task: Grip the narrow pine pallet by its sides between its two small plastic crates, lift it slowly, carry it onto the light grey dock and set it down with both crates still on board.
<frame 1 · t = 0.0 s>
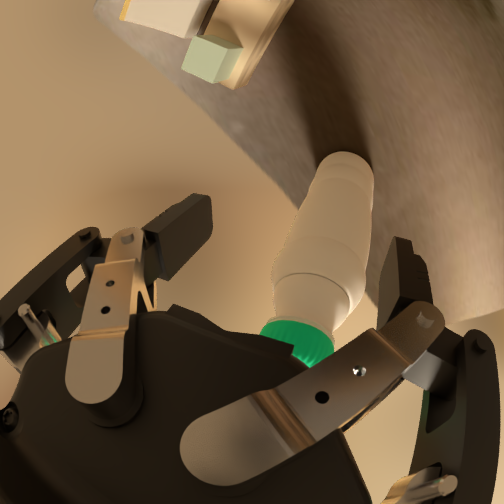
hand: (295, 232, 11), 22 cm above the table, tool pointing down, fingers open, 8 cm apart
pallet: (254, 20, 22), on the table, touching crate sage
water bottle: (346, 175, 31), on the table
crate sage: (220, 56, 23), point 4 cm above the table, touching pallet
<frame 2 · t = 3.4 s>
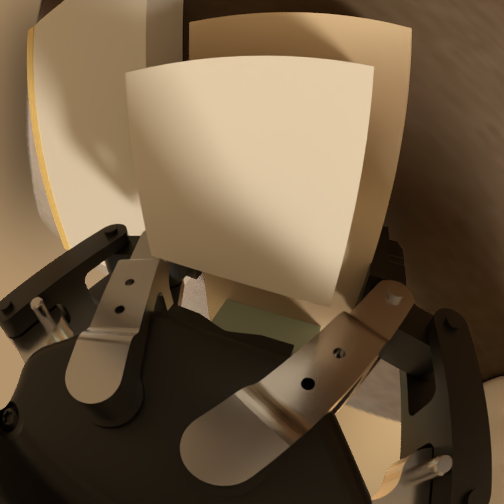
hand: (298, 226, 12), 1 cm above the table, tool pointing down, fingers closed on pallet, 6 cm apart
pallet: (303, 216, 12), on the table, touching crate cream, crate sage, gripper
water bottle: (491, 392, 13), on the table
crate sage: (269, 341, 12), point 4 cm above the table, touching pallet
dock: (106, 125, 14), on the table
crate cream: (286, 140, 7), point 4 cm above the table, touching pallet
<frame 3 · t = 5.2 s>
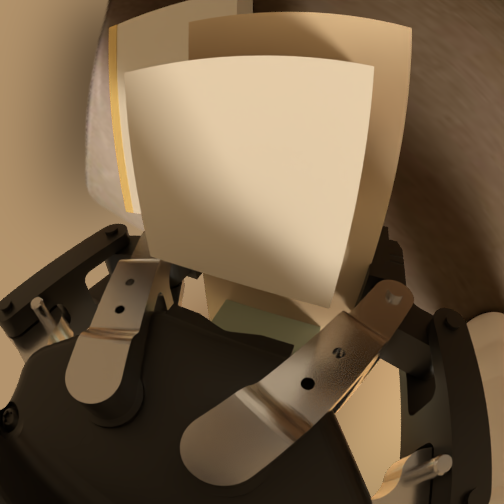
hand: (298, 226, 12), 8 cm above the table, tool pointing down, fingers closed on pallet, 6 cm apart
pallet: (303, 217, 12), point 8 cm above the table, touching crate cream, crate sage, gripper
water bottle: (481, 332, 19), on the table
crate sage: (269, 342, 12), point 11 cm above the table, touching pallet
dock: (182, 111, 20), on the table
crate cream: (285, 140, 7), point 12 cm above the table, touching pallet
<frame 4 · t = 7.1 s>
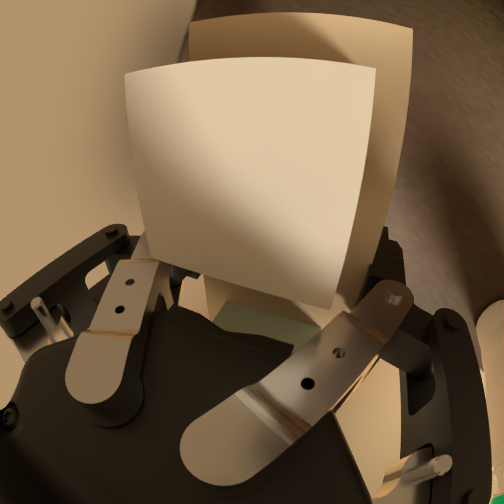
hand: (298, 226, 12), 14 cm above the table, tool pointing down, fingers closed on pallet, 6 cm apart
pallet: (303, 217, 12), point 14 cm above the table, touching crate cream, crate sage, gripper
water bottle: (497, 316, 23), on the table
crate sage: (269, 342, 12), point 18 cm above the table, touching pallet
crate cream: (286, 142, 7), point 18 cm above the table, touching pallet
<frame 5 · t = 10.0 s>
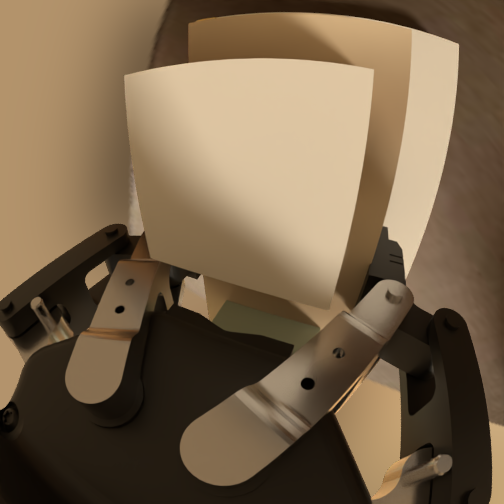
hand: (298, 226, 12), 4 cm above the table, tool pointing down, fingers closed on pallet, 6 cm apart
pallet: (303, 217, 12), point 4 cm above the table, touching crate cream, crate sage, gripper
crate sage: (268, 343, 12), point 8 cm above the table, touching pallet
dock: (317, 182, 15), on the table
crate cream: (285, 142, 7), point 8 cm above the table, touching pallet
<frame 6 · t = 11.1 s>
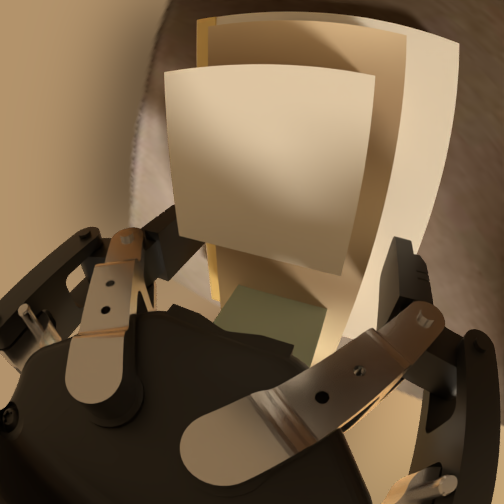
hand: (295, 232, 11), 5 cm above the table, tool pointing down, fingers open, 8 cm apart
pallet: (309, 207, 13), point 2 cm above the table, touching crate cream, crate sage, dock
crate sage: (278, 326, 13), point 6 cm above the table, touching pallet
dock: (317, 182, 15), on the table
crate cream: (297, 136, 8), point 6 cm above the table, touching pallet
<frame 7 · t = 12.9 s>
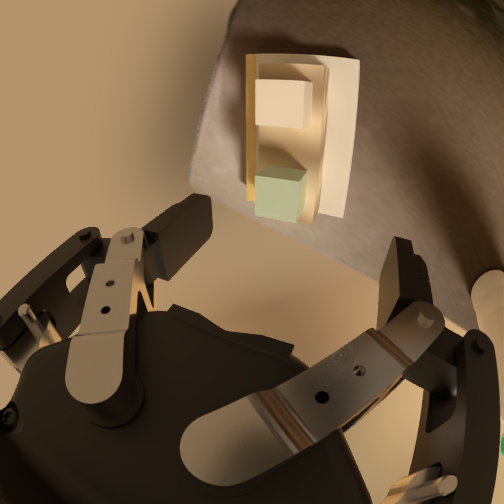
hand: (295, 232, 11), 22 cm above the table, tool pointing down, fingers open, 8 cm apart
pallet: (298, 137, 27), point 2 cm above the table, touching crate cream, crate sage, dock
water bottle: (489, 286, 28), on the table
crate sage: (286, 186, 27), point 6 cm above the table, touching pallet
dock: (302, 130, 29), on the table
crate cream: (290, 101, 22), point 6 cm above the table, touching pallet
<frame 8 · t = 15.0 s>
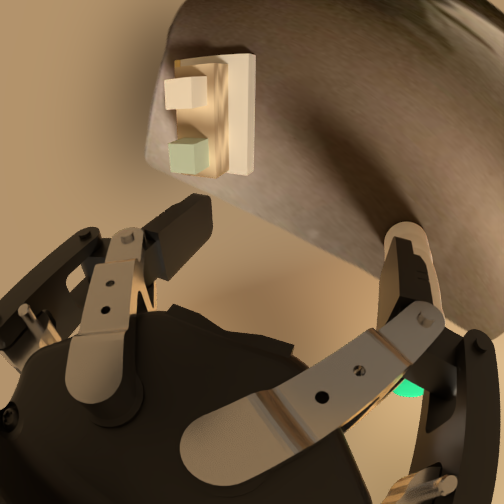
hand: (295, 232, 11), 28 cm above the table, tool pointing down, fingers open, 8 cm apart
pallet: (209, 117, 36), point 2 cm above the table, touching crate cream, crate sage, dock
water bottle: (405, 239, 37), on the table
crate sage: (196, 151, 36), point 6 cm above the table, touching pallet
dock: (217, 112, 38), on the table
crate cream: (193, 91, 31), point 6 cm above the table, touching pallet
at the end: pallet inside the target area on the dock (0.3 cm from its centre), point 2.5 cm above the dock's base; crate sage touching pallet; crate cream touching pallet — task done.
